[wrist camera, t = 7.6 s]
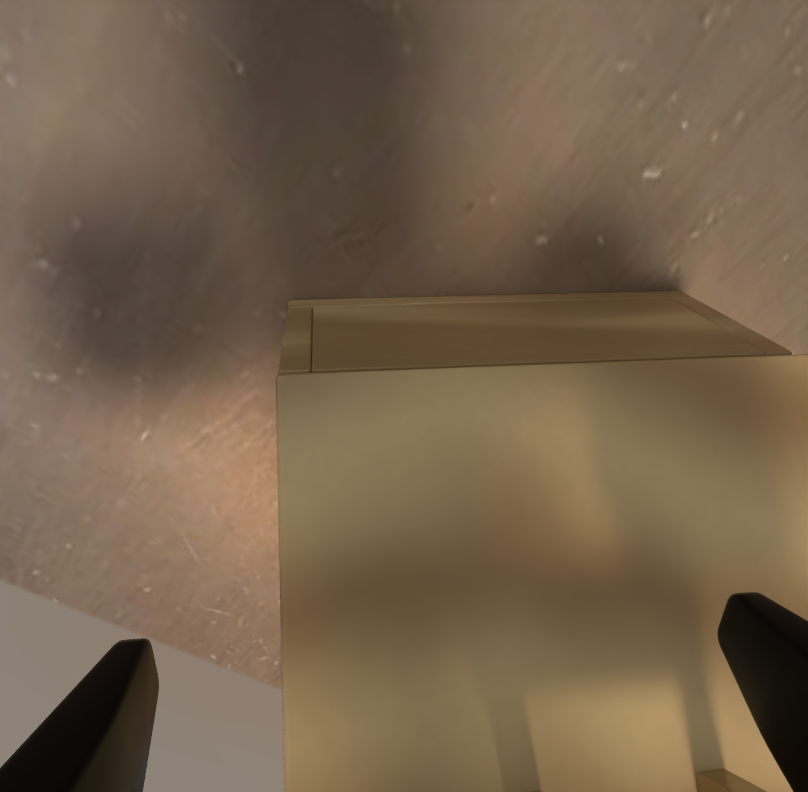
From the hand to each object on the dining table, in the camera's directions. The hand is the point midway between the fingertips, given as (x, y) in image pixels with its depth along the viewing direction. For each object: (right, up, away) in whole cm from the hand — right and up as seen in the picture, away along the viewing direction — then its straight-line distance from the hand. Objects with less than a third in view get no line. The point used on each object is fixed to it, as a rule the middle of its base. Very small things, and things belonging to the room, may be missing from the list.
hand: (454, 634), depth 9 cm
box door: (+3, -1, +5) cm, 6 cm away
